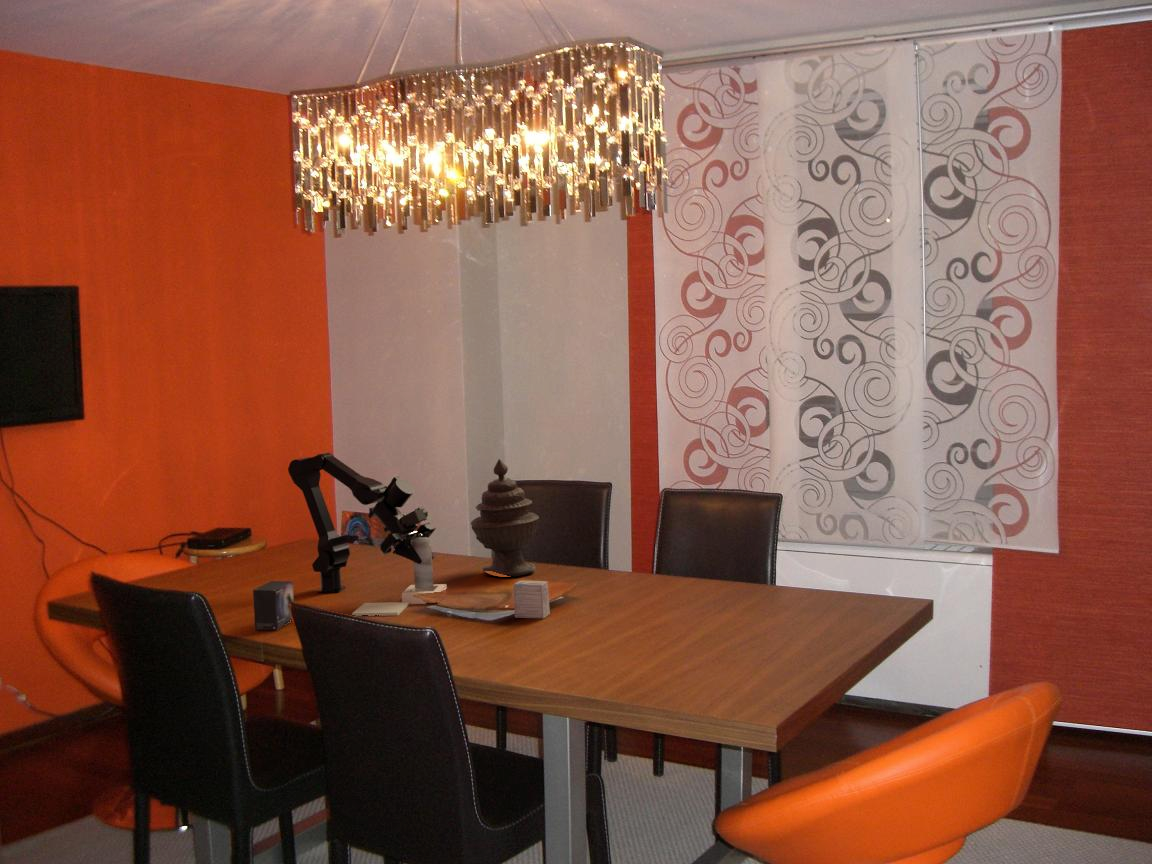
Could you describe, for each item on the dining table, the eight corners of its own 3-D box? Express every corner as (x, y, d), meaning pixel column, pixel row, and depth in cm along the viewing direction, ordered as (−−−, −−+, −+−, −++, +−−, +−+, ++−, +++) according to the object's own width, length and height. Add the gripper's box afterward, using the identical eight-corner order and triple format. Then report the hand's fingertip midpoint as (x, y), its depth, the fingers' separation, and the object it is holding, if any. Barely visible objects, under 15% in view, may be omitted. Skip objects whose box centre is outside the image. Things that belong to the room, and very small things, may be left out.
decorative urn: (550, 562, 346) (538, 450, 341) (537, 582, 326) (523, 463, 321) (486, 566, 350) (473, 455, 344) (469, 585, 330) (454, 468, 325)
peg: (417, 584, 311) (415, 537, 309) (435, 584, 310) (432, 537, 309) (412, 588, 306) (410, 541, 304) (431, 588, 305) (428, 540, 304)
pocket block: (411, 595, 314) (410, 584, 313) (447, 594, 313) (446, 584, 312) (402, 604, 304) (401, 593, 304) (438, 603, 303) (438, 592, 302)
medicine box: (550, 614, 286) (548, 581, 285) (544, 619, 281) (542, 585, 281) (521, 613, 288) (519, 580, 287) (514, 618, 284) (512, 584, 283)
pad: (364, 605, 304) (364, 602, 304) (408, 605, 303) (408, 602, 303) (352, 616, 293) (352, 613, 293) (397, 615, 292) (397, 612, 292)
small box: (278, 631, 281) (275, 589, 280) (253, 631, 283) (251, 589, 282) (296, 620, 292) (294, 580, 291) (273, 620, 293) (270, 580, 292)
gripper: (386, 504, 300) (422, 547, 295) (428, 493, 316) (463, 535, 311) (364, 532, 304) (399, 575, 300) (407, 520, 320) (441, 561, 316)
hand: (426, 560), depth 307 cm, fingers closed on peg, 5 cm apart
